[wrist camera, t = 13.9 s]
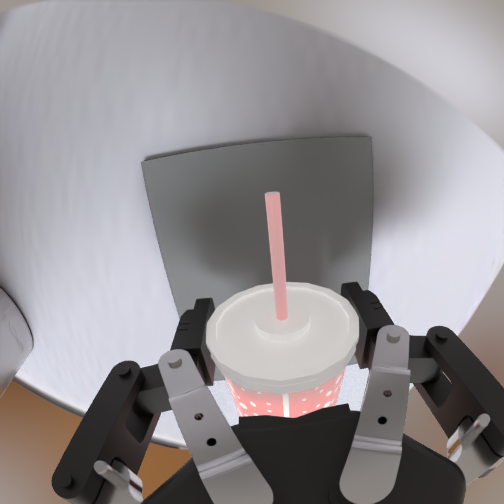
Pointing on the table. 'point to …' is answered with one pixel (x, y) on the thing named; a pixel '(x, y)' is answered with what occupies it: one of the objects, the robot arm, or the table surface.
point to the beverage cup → (282, 339)
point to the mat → (262, 216)
